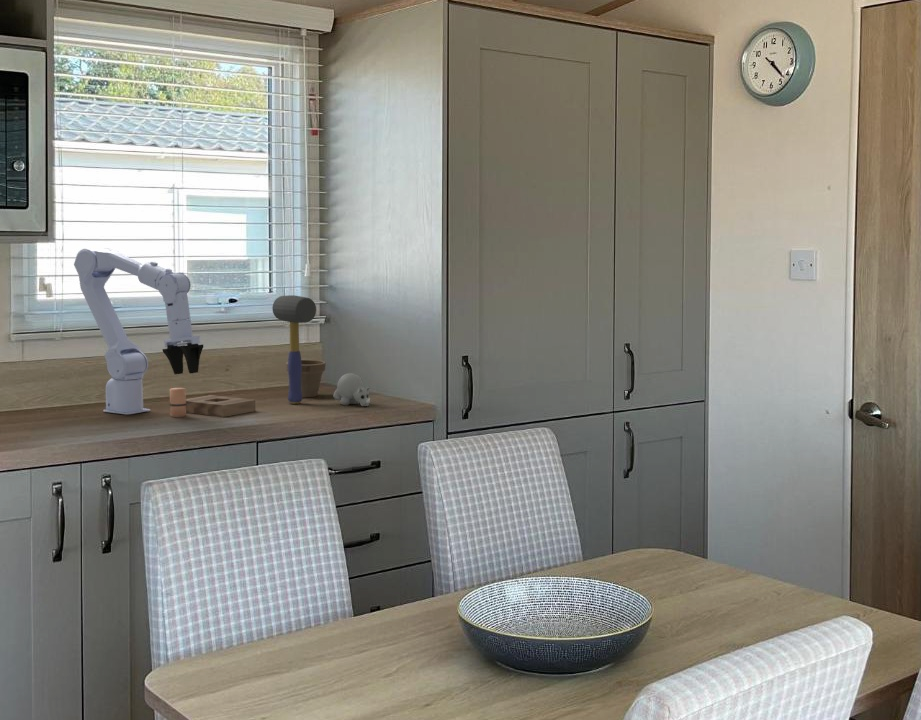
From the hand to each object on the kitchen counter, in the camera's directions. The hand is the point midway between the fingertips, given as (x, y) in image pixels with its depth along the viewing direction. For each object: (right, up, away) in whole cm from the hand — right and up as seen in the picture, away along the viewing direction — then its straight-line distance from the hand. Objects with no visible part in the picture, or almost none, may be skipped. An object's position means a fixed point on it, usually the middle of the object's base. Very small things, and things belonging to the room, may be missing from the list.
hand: (186, 373), depth 288 cm
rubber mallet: (+24, -9, +25) cm, 36 cm away
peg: (-3, -11, +3) cm, 12 cm away
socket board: (+6, -10, +11) cm, 16 cm away
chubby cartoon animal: (+41, -9, +23) cm, 47 cm away
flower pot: (+25, -7, +40) cm, 48 cm away
